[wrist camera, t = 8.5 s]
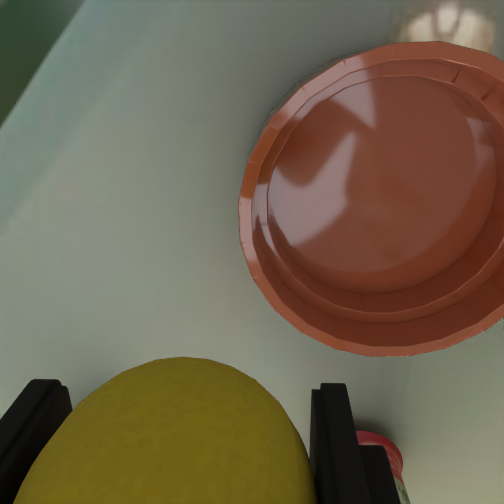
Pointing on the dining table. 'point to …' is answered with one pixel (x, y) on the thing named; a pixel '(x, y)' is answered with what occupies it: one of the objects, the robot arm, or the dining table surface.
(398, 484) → the liquor
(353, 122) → the fruit bowl
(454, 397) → the dining table surface
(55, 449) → the lemon
